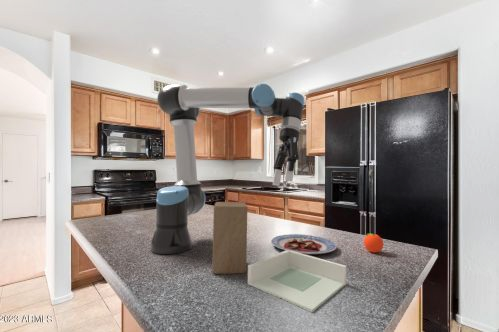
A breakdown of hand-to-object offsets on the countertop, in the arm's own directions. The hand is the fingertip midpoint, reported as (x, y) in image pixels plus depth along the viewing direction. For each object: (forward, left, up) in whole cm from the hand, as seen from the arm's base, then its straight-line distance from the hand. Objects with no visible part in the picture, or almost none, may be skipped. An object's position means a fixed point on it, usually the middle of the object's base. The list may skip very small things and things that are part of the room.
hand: (281, 183), depth 94 cm
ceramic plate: (+7, +11, -27) cm, 30 cm away
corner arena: (+9, -24, -26) cm, 37 cm away
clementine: (+33, +15, -26) cm, 45 cm away
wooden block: (-13, -19, -26) cm, 35 cm away
